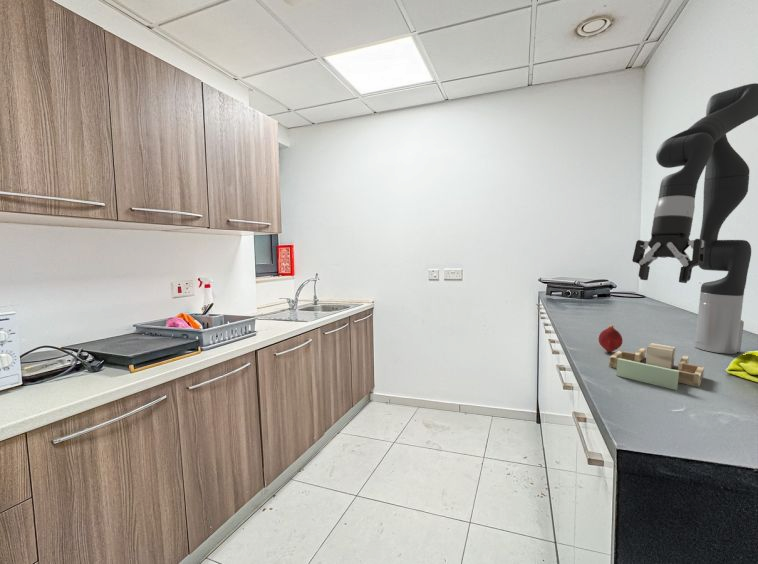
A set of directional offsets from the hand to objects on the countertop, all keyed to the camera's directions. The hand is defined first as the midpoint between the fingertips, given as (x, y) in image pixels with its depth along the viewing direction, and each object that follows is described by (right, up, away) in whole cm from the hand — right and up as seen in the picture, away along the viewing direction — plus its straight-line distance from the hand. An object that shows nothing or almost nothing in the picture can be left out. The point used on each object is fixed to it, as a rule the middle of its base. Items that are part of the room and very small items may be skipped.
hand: (662, 281), depth 87 cm
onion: (-4, -21, +14) cm, 26 cm away
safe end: (-11, -23, -9) cm, 27 cm away
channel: (-2, -22, -1) cm, 22 cm away
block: (+2, -22, +3) cm, 22 cm away
